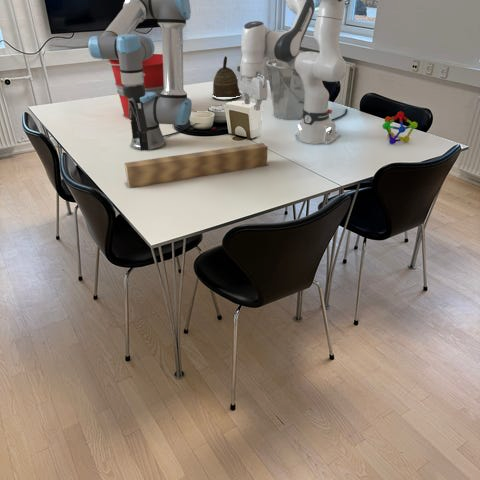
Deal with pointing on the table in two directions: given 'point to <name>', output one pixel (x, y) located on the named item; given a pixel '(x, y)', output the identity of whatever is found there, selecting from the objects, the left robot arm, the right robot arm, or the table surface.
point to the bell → (225, 82)
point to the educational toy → (398, 128)
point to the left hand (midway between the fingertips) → (140, 143)
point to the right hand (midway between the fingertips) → (251, 106)
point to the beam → (195, 164)
